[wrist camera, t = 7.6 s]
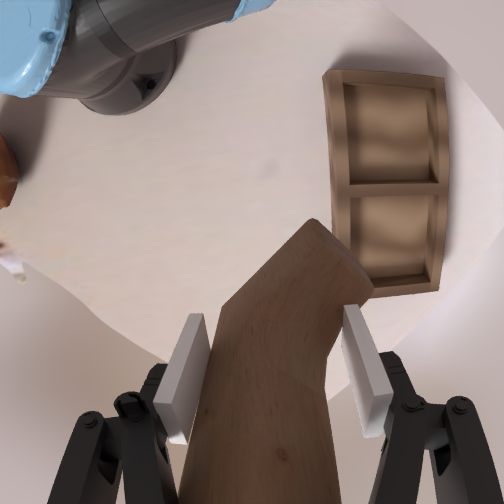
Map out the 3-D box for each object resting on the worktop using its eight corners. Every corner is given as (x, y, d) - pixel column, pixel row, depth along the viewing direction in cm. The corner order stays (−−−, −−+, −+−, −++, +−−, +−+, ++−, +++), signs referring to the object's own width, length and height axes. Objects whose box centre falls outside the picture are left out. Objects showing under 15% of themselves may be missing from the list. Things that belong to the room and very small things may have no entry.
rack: (322, 76, 35) (328, 69, 31) (428, 81, 34) (443, 78, 30) (332, 286, 45) (337, 301, 41) (426, 277, 44) (438, 290, 40)
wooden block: (311, 213, 20) (428, 529, 3) (359, 258, 21) (488, 527, 4) (219, 306, 22) (154, 576, 6) (267, 342, 23) (258, 594, 7)
